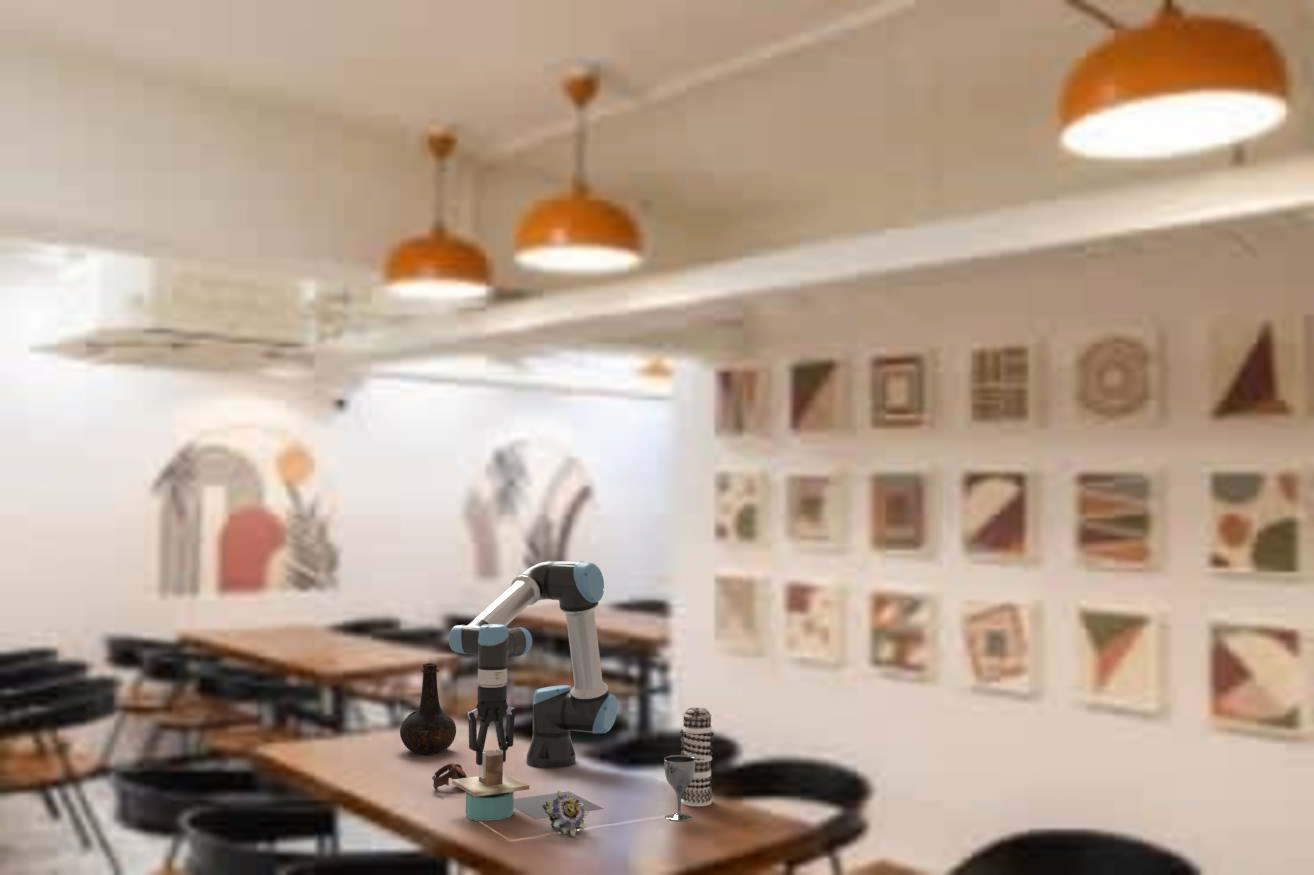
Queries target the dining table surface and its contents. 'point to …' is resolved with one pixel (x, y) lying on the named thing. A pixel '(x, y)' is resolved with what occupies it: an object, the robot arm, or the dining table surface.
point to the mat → (535, 804)
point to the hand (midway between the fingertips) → (490, 776)
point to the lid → (491, 779)
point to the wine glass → (679, 780)
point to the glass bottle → (428, 720)
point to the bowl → (490, 806)
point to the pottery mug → (448, 774)
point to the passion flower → (566, 813)
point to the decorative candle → (698, 755)
